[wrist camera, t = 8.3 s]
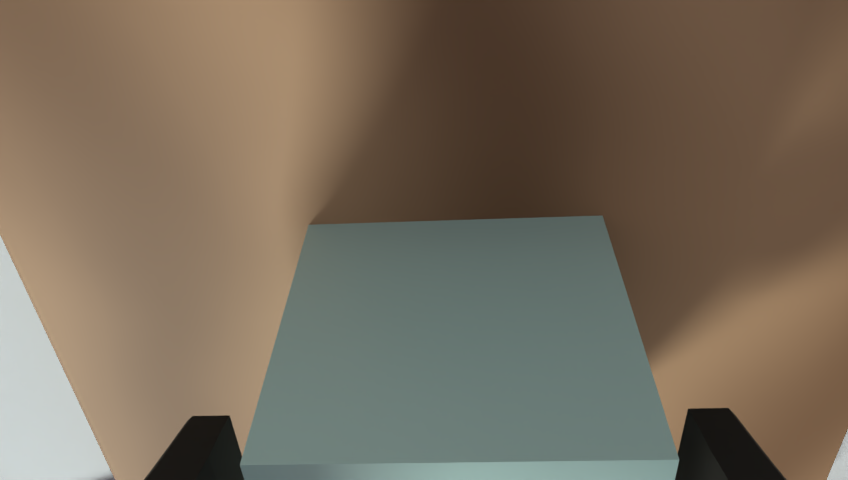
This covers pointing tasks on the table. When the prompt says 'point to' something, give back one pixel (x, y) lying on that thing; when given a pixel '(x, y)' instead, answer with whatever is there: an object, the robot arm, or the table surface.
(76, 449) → the table surface
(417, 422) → the mint green cube
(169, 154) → the stub board
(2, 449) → the table surface
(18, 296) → the table surface
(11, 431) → the table surface
